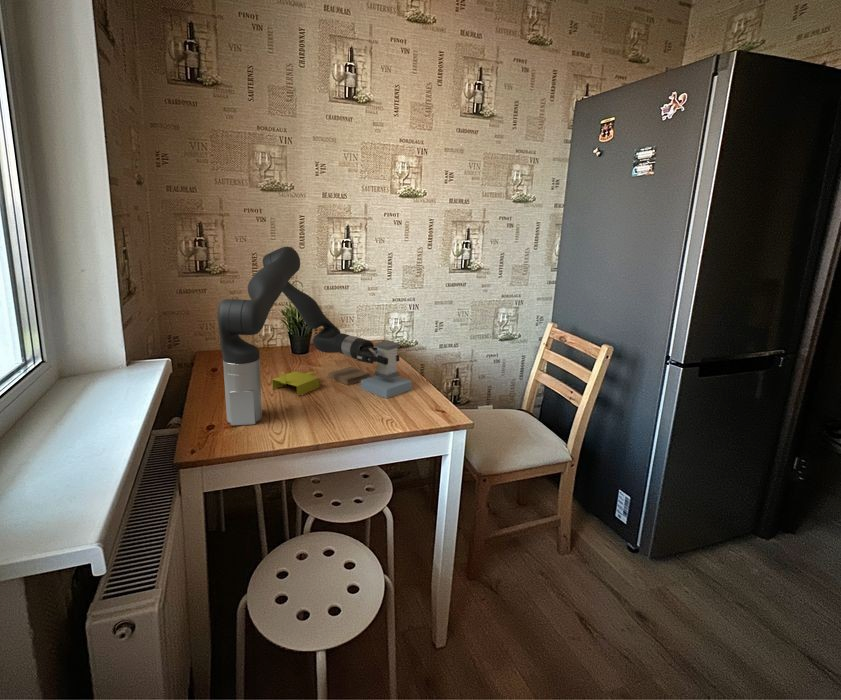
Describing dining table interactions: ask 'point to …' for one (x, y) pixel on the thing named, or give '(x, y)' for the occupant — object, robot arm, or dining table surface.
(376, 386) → the stand
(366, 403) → the dining table surface
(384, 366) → the post
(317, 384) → the bracket
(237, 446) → the dining table surface
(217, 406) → the dining table surface
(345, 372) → the stand
